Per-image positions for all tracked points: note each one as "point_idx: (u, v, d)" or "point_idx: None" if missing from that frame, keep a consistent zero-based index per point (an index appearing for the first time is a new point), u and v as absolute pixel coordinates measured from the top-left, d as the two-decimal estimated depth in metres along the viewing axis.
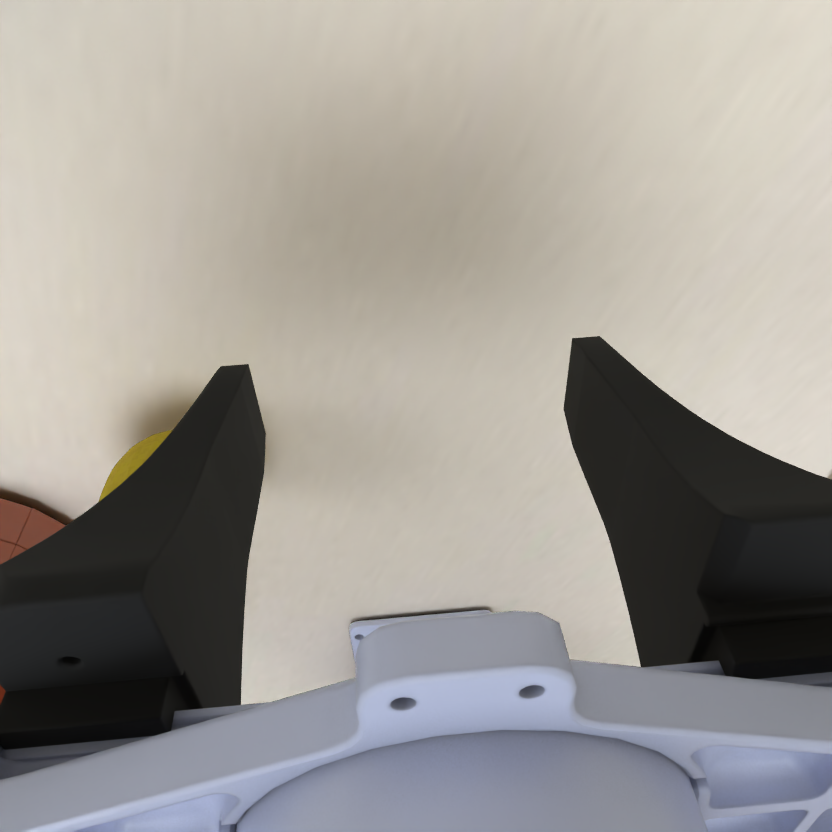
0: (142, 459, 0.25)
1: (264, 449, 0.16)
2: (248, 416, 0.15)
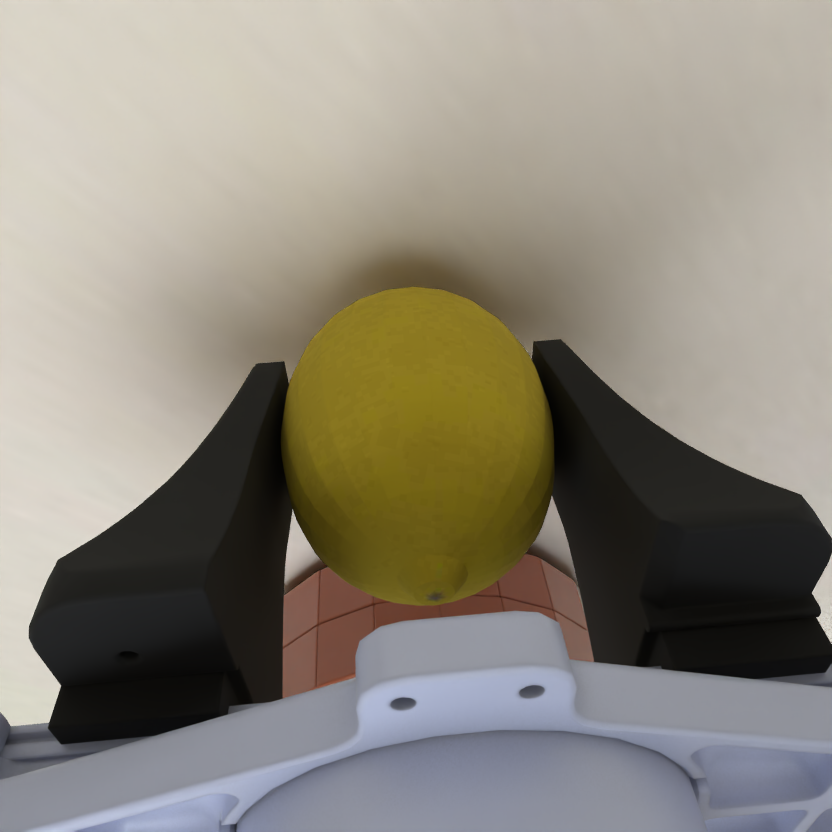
0: None
1: None
2: None
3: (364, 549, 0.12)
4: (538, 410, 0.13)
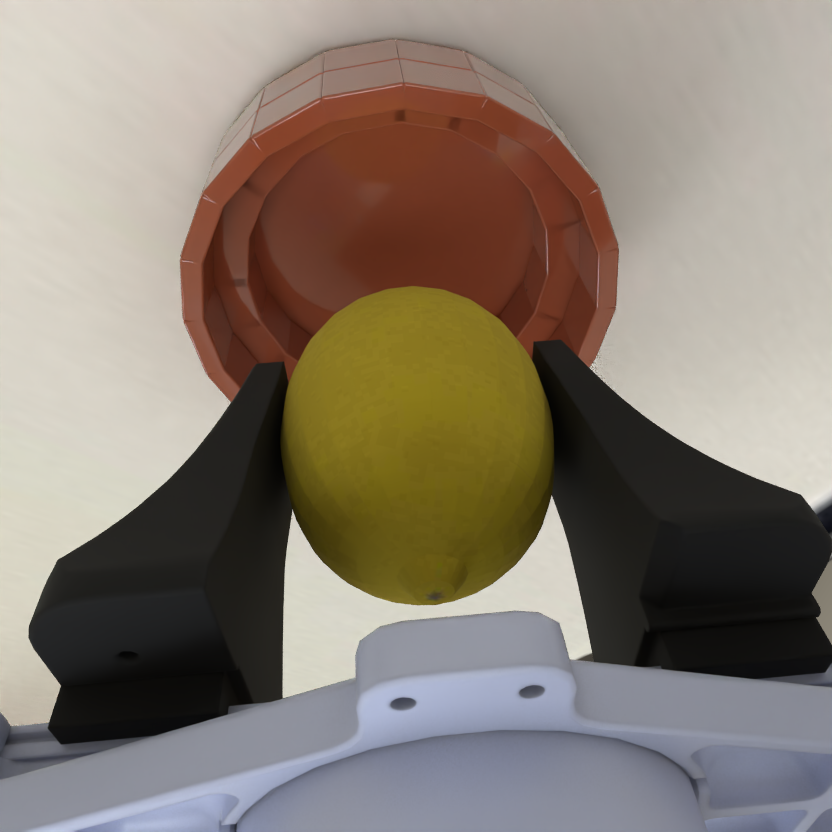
0: None
1: None
2: None
3: (364, 548, 0.12)
4: (537, 409, 0.13)
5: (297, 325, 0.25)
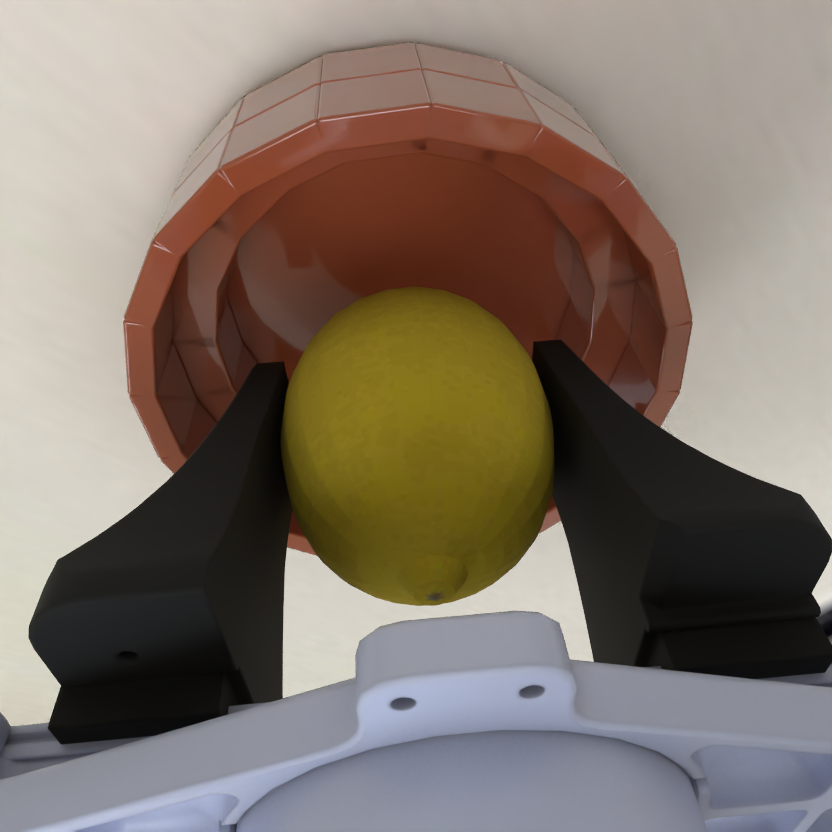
0: None
1: None
2: None
3: (364, 549, 0.12)
4: (537, 410, 0.13)
5: None
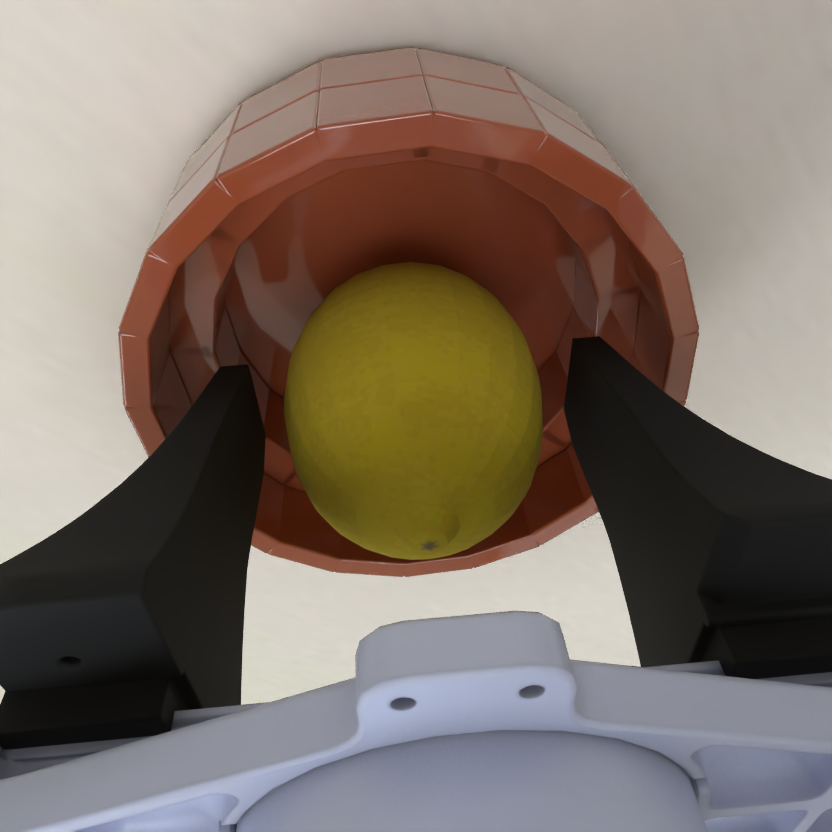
0: (287, 375, 0.15)
1: (264, 449, 0.16)
2: (248, 416, 0.15)
3: (363, 502, 0.13)
4: (526, 374, 0.14)
5: (277, 394, 0.20)
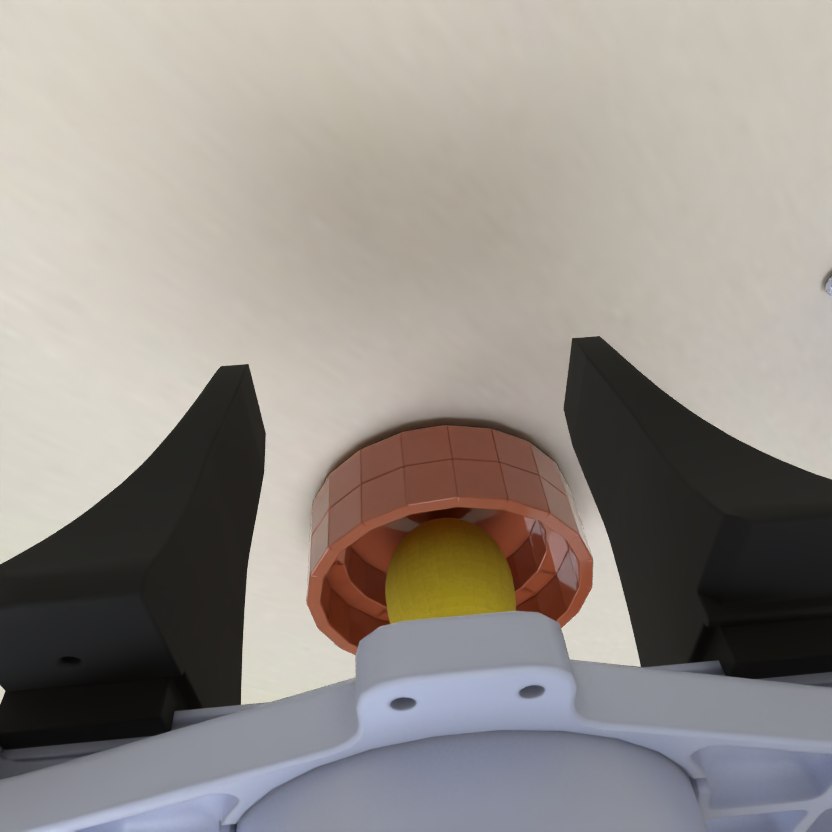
0: (387, 585, 0.30)
1: (264, 449, 0.16)
2: (248, 416, 0.15)
3: None
4: (505, 590, 0.28)
5: (369, 565, 0.35)
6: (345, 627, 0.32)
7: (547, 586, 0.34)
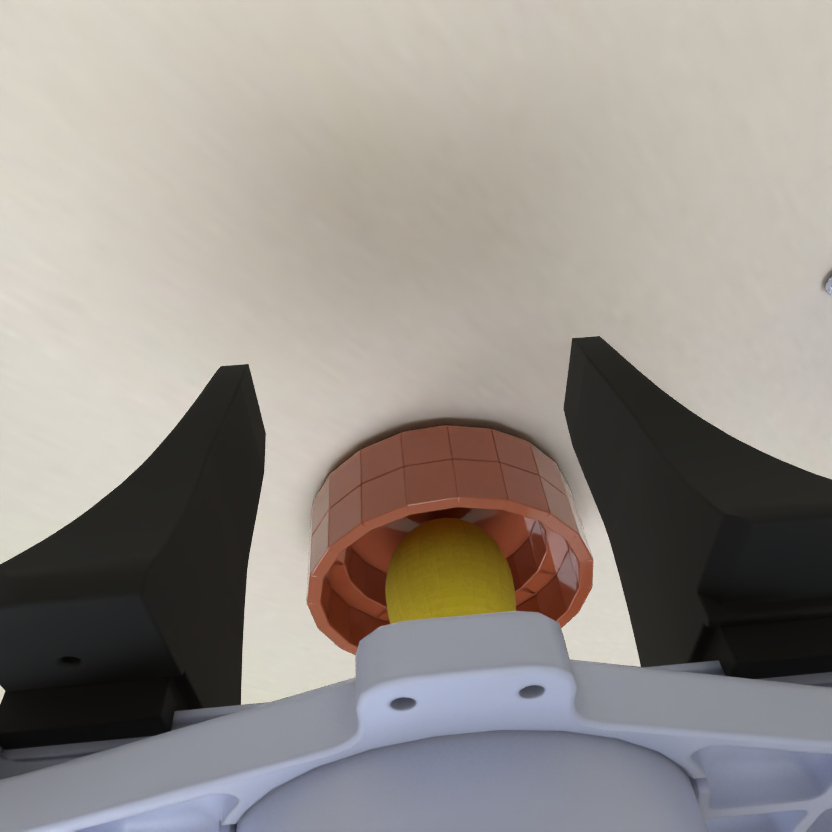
0: (387, 585, 0.30)
1: (264, 449, 0.16)
2: (248, 416, 0.15)
3: None
4: (505, 591, 0.28)
5: (369, 565, 0.35)
6: (345, 627, 0.32)
7: (547, 586, 0.34)
